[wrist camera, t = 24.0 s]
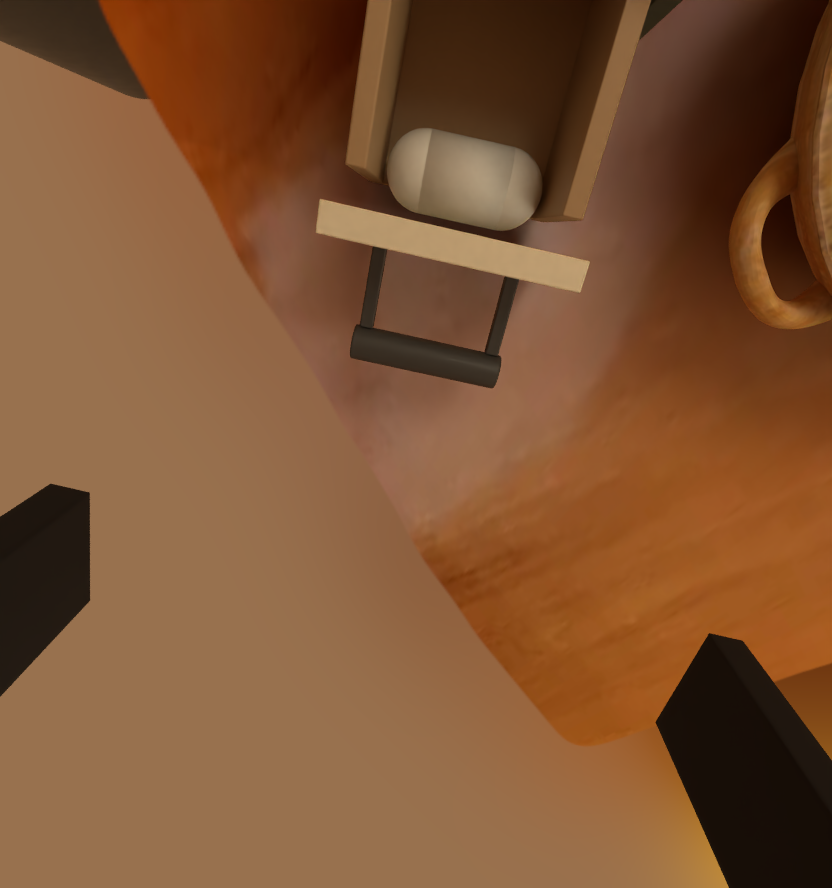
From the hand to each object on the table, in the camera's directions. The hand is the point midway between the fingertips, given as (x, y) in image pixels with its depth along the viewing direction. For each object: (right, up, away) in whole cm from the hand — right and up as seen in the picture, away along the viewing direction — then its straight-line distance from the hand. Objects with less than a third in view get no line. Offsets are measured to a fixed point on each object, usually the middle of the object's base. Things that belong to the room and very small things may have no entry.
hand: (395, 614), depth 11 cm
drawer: (+3, +17, +15) cm, 22 cm away
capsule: (+3, +17, +11) cm, 20 cm away
